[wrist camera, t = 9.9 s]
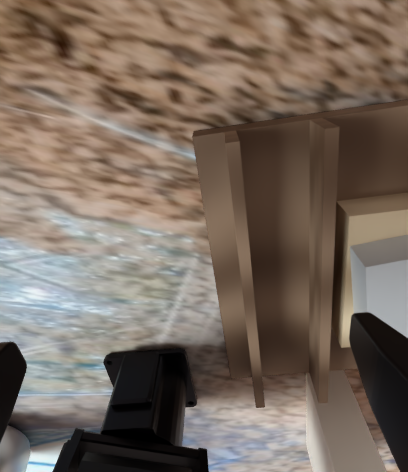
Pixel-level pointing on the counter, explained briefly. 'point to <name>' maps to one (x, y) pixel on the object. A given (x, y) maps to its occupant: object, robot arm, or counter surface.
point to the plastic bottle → (14, 451)
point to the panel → (339, 430)
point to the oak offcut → (358, 232)
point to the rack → (290, 229)
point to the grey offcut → (382, 280)
